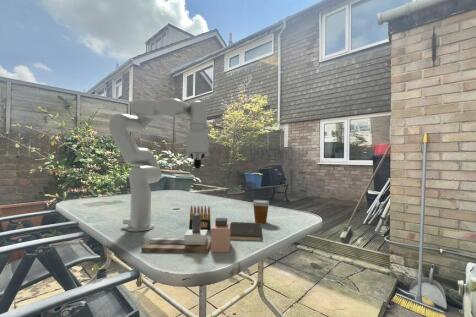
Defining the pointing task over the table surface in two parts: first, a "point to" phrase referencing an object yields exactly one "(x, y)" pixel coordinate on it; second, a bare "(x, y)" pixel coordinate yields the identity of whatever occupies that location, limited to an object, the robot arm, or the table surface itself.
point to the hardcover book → (245, 231)
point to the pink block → (220, 238)
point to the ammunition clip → (206, 219)
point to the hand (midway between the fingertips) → (197, 168)
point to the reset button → (221, 221)
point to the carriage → (195, 233)
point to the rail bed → (174, 246)
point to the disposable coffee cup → (260, 210)
